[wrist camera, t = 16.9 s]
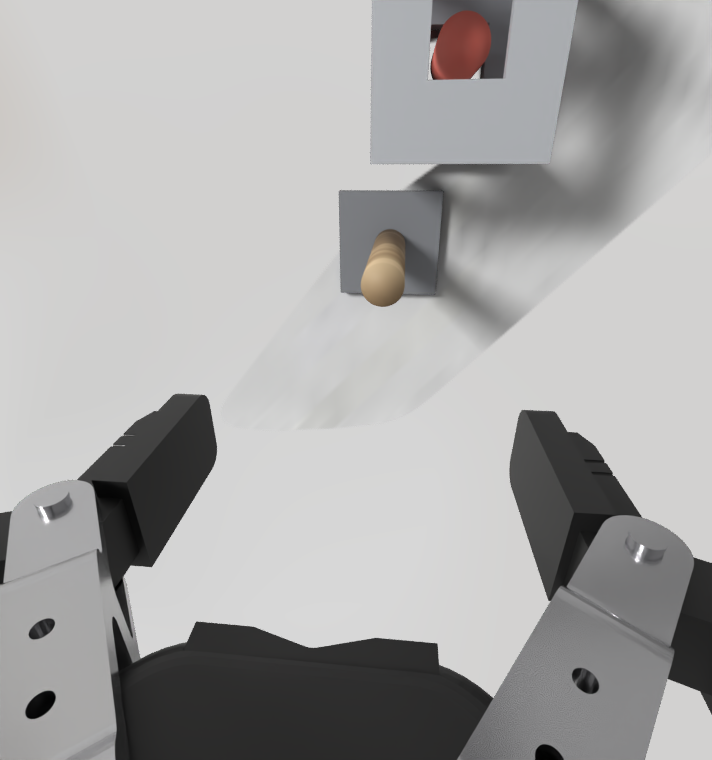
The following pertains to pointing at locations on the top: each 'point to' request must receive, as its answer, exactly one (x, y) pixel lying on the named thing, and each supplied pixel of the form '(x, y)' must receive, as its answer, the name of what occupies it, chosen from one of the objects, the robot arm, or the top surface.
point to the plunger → (461, 47)
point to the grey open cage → (468, 84)
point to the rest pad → (398, 212)
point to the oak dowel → (385, 269)
